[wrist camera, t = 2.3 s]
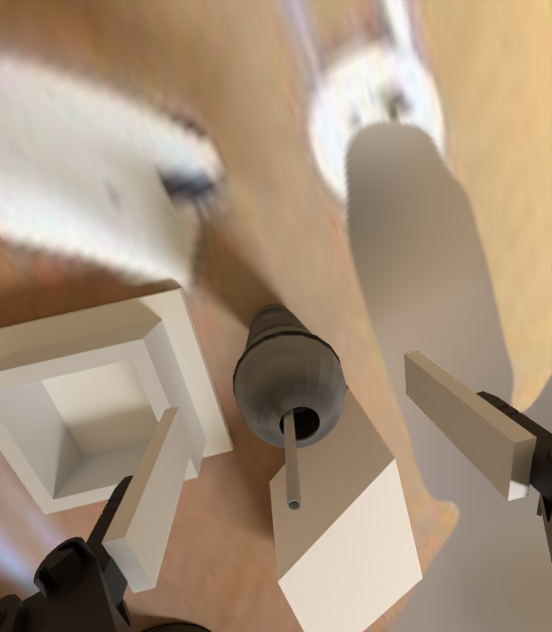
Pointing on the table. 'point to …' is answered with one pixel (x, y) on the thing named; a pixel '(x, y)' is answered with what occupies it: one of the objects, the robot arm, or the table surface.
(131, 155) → the table surface
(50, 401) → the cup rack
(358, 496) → the block
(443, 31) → the table surface
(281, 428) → the beverage cup
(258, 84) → the table surface
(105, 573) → the robot arm
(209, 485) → the table surface
